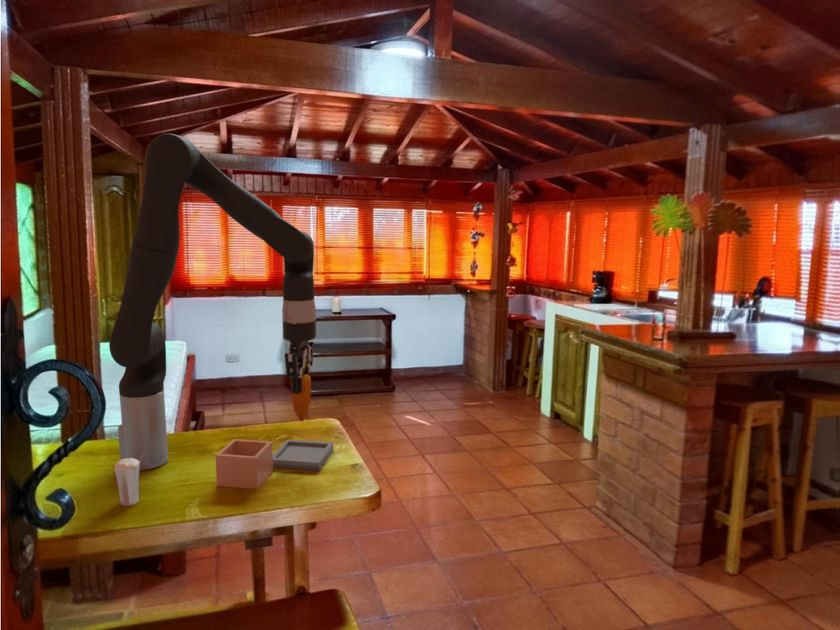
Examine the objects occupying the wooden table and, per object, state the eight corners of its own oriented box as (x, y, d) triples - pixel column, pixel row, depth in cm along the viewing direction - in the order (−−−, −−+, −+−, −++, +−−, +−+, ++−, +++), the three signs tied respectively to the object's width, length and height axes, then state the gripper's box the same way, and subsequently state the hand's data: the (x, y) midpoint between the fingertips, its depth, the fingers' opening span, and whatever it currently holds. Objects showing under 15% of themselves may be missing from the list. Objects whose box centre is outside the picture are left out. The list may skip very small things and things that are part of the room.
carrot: (307, 425, 136) (306, 363, 133) (287, 423, 137) (286, 361, 134) (315, 418, 141) (314, 358, 138) (296, 416, 142) (294, 356, 139)
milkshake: (141, 507, 116) (138, 460, 115) (113, 508, 116) (109, 460, 114) (150, 496, 121) (146, 451, 119) (123, 497, 120) (119, 451, 119)
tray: (268, 467, 135) (268, 459, 135) (286, 447, 147) (286, 439, 147) (319, 471, 134) (319, 462, 134) (333, 450, 146) (333, 442, 145)
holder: (216, 485, 126) (215, 455, 125) (235, 467, 135) (234, 439, 134) (257, 489, 125) (256, 458, 124) (273, 470, 134) (272, 441, 133)
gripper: (293, 312, 142) (295, 380, 145) (271, 323, 128) (274, 398, 131) (323, 313, 141) (324, 381, 144) (305, 325, 127) (306, 400, 130)
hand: (300, 389), depth 137 cm, fingers closed on carrot, 5 cm apart
